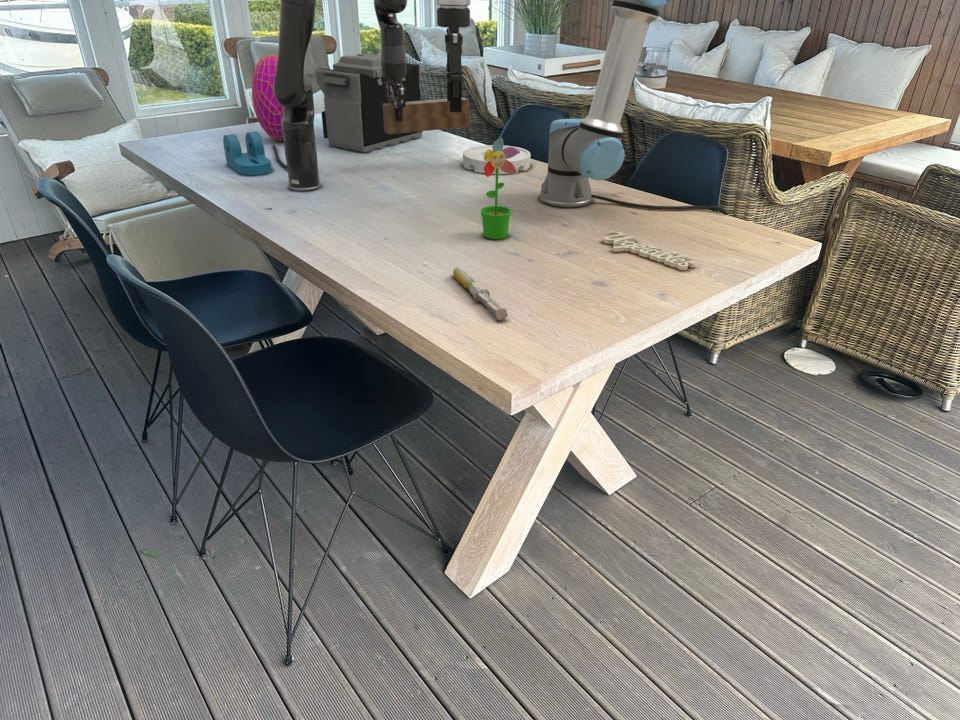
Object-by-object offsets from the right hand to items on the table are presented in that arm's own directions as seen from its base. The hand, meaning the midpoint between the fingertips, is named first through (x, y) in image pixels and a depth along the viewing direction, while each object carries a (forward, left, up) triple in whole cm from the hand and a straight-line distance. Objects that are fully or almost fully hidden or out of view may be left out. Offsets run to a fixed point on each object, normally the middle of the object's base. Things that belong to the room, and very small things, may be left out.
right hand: (454, 106), depth 165 cm
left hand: (+40, -38, -13) cm, 57 cm away
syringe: (-23, +34, -31) cm, 52 cm away
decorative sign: (-48, -6, -31) cm, 58 cm away
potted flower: (-12, -1, -31) cm, 33 cm away
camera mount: (+88, -22, -31) cm, 95 cm away
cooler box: (+72, -74, -31) cm, 108 cm away
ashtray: (+16, -64, -31) cm, 73 cm away
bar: (+34, -46, -17) cm, 60 cm away
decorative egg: (+104, -60, -31) cm, 124 cm away
